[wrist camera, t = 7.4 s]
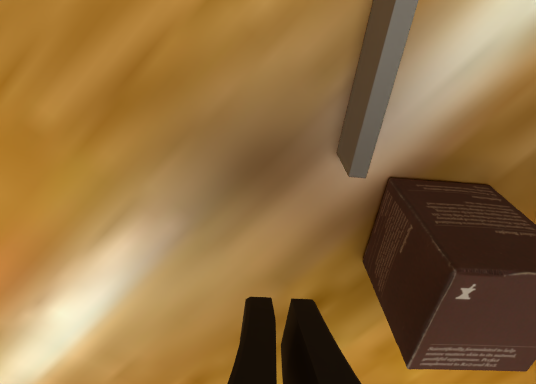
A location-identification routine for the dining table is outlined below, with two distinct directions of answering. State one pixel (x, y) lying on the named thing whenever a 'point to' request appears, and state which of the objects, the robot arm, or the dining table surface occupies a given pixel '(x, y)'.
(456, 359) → the box
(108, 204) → the dining table surface
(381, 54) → the grey arch frame
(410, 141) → the dining table surface
